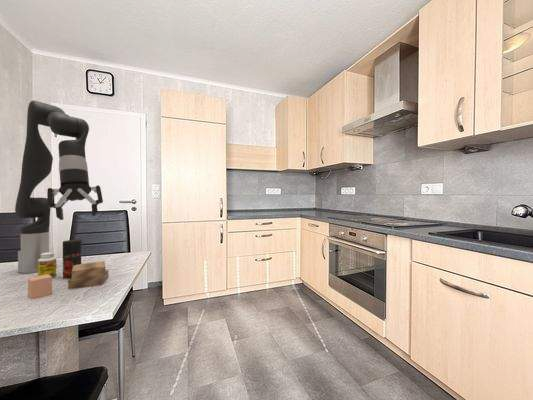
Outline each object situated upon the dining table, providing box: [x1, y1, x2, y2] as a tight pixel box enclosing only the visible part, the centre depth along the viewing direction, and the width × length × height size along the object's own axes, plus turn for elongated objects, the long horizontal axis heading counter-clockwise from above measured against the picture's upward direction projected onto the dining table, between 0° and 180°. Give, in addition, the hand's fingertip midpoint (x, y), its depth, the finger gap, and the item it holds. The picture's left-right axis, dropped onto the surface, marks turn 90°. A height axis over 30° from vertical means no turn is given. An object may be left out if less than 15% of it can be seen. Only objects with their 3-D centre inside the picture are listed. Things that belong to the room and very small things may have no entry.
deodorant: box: [62, 239, 82, 280], centre depth 97 cm, size 6×6×15 cm
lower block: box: [67, 269, 109, 290], centre depth 90 cm, size 10×10×4 cm
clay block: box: [27, 274, 53, 300], centre depth 78 cm, size 5×5×6 cm
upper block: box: [72, 260, 106, 281], centre depth 90 cm, size 10×10×4 cm
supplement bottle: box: [37, 251, 57, 279], centre depth 95 cm, size 6×6×10 cm
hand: (78, 217), depth 77 cm, fingers open, 8 cm apart
